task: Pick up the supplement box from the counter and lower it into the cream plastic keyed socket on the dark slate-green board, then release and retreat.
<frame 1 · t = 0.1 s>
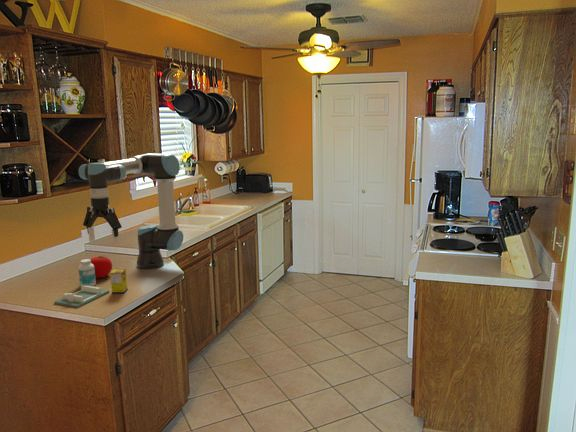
hand: (103, 242, 217), 28 cm above the countertop, fingers open, 13 cm apart
tomato: (100, 276, 253), on the countertop
pill bottle: (88, 285, 240), on the countertop
supplement box: (119, 291, 232), on the countertop
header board: (82, 297, 224), on the countertop
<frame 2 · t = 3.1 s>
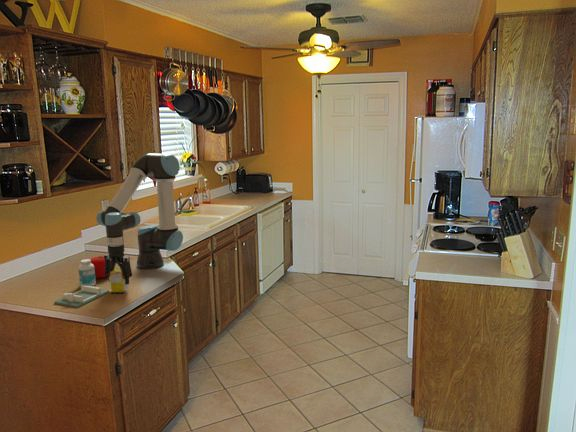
hand: (119, 289, 232), 1 cm above the countertop, fingers closed on supplement box, 7 cm apart
supplement box: (119, 291, 232), on the countertop, touching gripper
everything else where it was.
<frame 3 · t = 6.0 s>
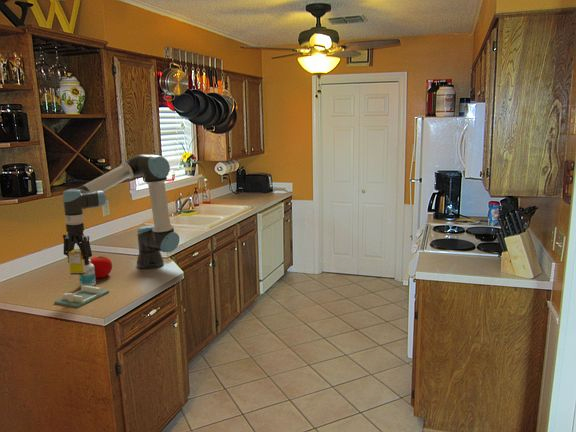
hand: (79, 270, 221), 14 cm above the countertop, fingers closed on supplement box, 7 cm apart
supplement box: (79, 273, 221), point 13 cm above the countertop, touching gripper
everything else where it was.
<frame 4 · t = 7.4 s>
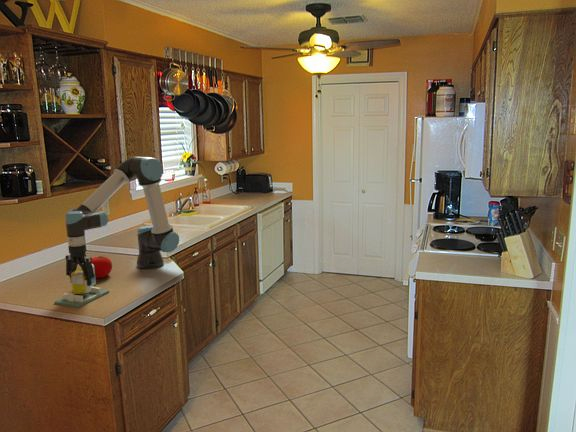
hand: (81, 290, 223), 4 cm above the countertop, fingers closed on supplement box, 7 cm apart
supplement box: (81, 293, 223), point 2 cm above the countertop, touching gripper
everything else where it was.
when the fingers open (3 cm above the countertop, at t = 8.6 s): supplement box stays where it is, resting on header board.
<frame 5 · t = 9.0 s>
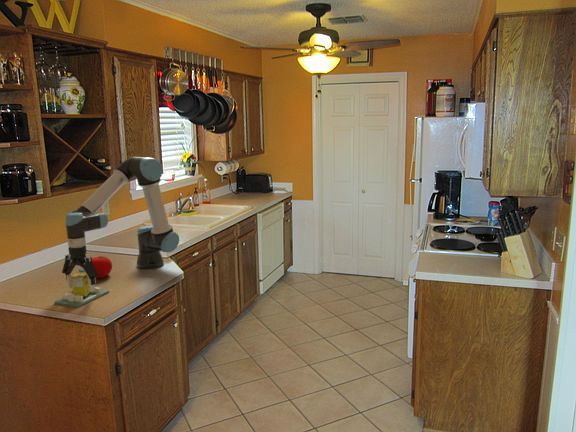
hand: (81, 289, 223), 4 cm above the countertop, fingers open, 12 cm apart
supplement box: (82, 296, 224), point 1 cm above the countertop, touching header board
everything else where it was.
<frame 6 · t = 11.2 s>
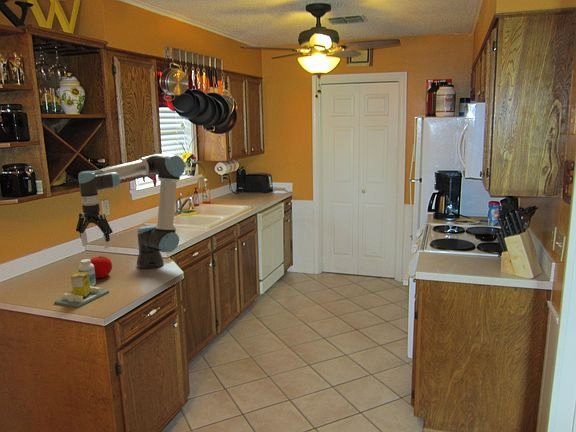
hand: (96, 246, 228), 23 cm above the countertop, fingers open, 13 cm apart
nothing on the countertop moved.
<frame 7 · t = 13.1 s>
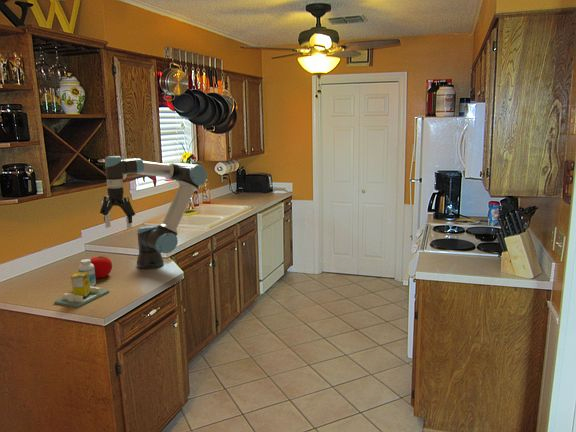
hand: (118, 228, 239), 29 cm above the countertop, fingers open, 13 cm apart
nothing on the countertop moved.
at the end: supplement box inside the target area (0.1 cm from its centre), point 0.8 cm above the countertop; supplement box tilted 0°; the gripper is holding nothing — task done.
